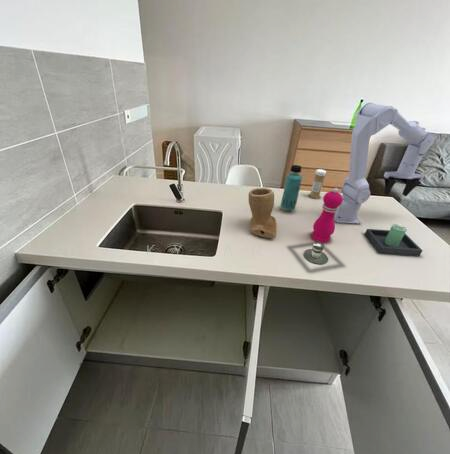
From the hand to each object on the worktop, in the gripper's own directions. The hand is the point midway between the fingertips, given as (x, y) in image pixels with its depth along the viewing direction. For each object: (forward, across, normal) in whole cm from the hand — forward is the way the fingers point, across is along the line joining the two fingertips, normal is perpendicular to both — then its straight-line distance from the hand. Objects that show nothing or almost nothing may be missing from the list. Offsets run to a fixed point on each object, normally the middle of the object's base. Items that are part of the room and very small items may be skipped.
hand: (395, 194), depth 102 cm
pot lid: (+10, -40, -33) cm, 53 cm away
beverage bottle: (+10, -44, -2) cm, 45 cm away
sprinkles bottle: (+10, -28, +14) cm, 33 cm away
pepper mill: (+10, -35, -22) cm, 43 cm away
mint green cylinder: (+9, -10, -23) cm, 27 cm away
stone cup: (+10, -57, -18) cm, 61 cm away
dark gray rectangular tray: (+10, -10, -23) cm, 27 cm away
